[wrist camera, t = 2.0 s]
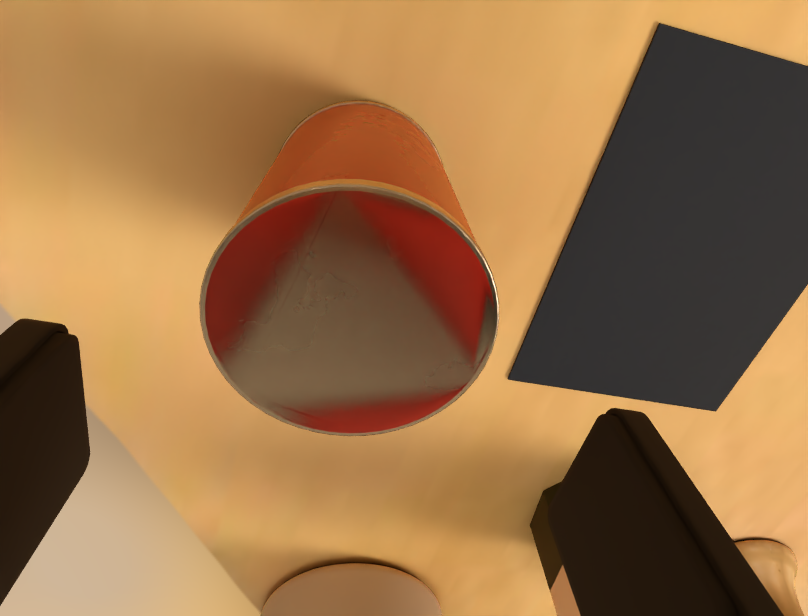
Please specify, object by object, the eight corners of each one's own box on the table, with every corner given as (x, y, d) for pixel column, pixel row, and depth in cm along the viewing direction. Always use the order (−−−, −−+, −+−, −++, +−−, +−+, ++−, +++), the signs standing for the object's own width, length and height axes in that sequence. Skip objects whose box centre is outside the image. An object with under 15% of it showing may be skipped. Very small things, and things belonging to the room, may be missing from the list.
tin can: (284, 80, 18) (203, 150, 9) (465, 123, 19) (543, 221, 10) (267, 250, 21) (195, 418, 12) (421, 278, 22) (453, 451, 14)
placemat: (658, 23, 17) (660, 23, 17) (935, 103, 19) (937, 104, 19) (507, 378, 25) (508, 379, 25) (714, 410, 27) (716, 411, 27)
